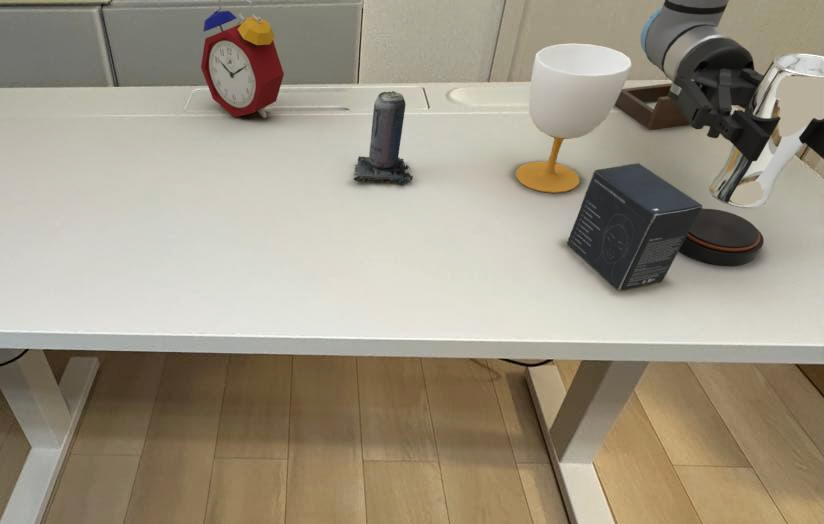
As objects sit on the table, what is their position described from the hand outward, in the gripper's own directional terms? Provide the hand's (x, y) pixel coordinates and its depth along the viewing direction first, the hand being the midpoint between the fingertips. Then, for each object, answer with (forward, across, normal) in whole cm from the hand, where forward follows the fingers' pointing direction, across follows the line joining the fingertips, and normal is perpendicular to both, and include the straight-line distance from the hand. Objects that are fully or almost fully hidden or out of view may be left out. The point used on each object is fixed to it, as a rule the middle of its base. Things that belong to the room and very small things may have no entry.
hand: (798, 149), depth 61 cm
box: (0, +13, -15) cm, 20 cm away
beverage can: (-22, +42, -16) cm, 49 cm away
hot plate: (-5, 0, -15) cm, 16 cm away
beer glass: (-5, 0, -8) cm, 10 cm away
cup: (-21, +17, -15) cm, 31 cm away
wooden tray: (-44, -7, -15) cm, 47 cm away
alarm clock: (-46, +66, -16) cm, 81 cm away
